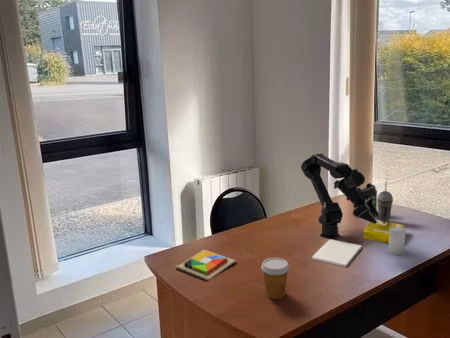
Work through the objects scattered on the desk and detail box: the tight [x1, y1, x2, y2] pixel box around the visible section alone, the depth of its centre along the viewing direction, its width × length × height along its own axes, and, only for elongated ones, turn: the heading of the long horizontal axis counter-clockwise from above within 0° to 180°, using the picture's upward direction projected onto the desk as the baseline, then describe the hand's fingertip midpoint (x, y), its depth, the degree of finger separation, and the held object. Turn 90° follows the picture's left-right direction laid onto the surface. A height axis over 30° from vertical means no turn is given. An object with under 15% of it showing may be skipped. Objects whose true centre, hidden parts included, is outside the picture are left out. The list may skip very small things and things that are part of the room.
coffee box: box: [369, 193, 378, 216], centre depth 222 cm, size 8×3×13 cm, turn 112°
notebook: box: [311, 239, 362, 268], centre depth 184 cm, size 14×20×1 cm
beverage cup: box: [377, 181, 394, 222], centre depth 212 cm, size 7×7×20 cm
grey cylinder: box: [388, 227, 406, 256], centre depth 182 cm, size 6×6×10 cm
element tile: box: [363, 219, 405, 244], centre depth 199 cm, size 15×15×5 cm
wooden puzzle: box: [175, 249, 237, 281], centre depth 178 cm, size 18×19×4 cm
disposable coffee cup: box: [261, 257, 290, 300], centre depth 154 cm, size 10×10×12 cm
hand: (377, 219), depth 183 cm, fingers open, 9 cm apart
